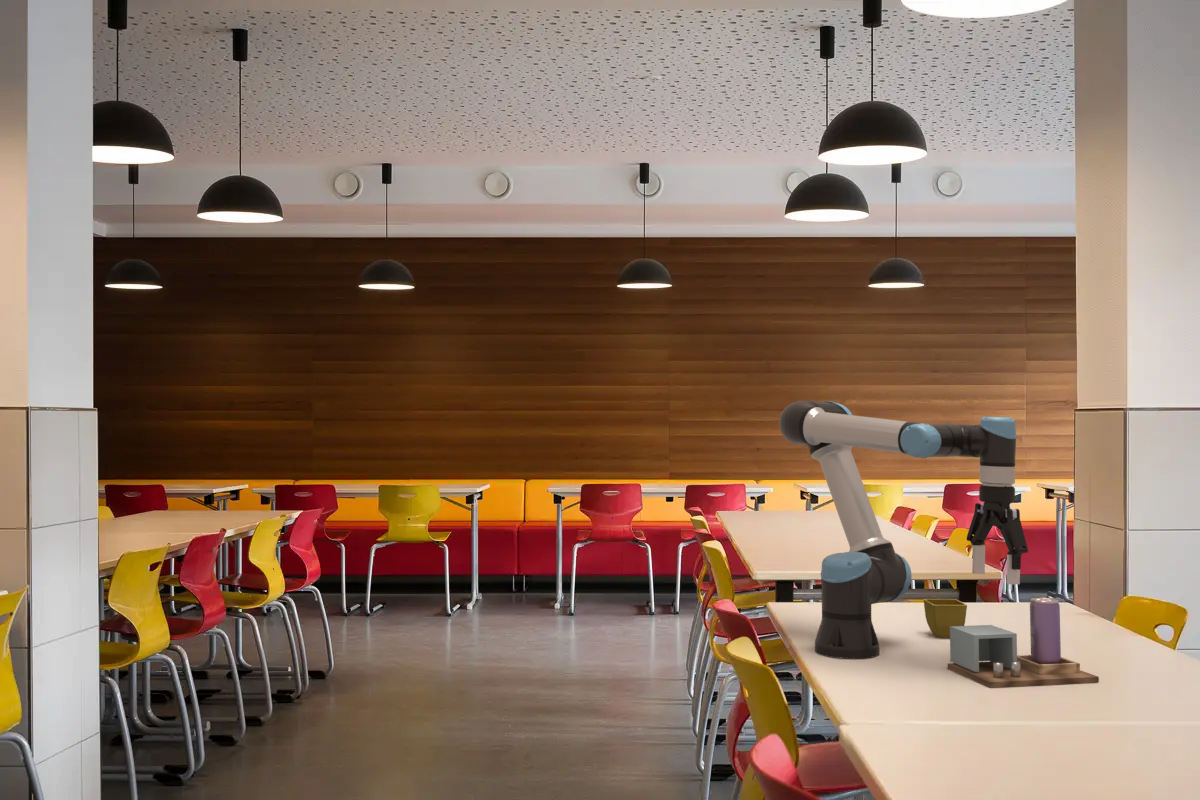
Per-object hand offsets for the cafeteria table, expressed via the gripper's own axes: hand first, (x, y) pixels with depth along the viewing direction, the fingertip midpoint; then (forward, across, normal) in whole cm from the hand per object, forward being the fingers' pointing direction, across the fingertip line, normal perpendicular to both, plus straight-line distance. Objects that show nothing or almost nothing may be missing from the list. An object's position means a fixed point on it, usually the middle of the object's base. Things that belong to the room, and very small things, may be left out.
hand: (995, 578), depth 223 cm
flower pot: (+21, +32, -7) cm, 39 cm away
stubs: (+18, -14, +6) cm, 24 cm away
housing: (+18, -5, +6) cm, 20 cm away
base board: (+20, -9, -1) cm, 21 cm away
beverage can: (+18, -9, -7) cm, 22 cm away
